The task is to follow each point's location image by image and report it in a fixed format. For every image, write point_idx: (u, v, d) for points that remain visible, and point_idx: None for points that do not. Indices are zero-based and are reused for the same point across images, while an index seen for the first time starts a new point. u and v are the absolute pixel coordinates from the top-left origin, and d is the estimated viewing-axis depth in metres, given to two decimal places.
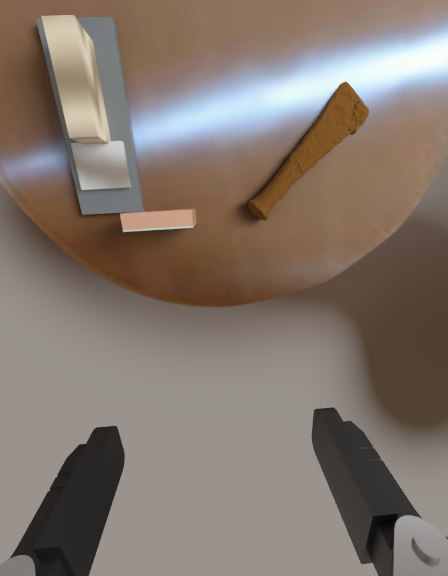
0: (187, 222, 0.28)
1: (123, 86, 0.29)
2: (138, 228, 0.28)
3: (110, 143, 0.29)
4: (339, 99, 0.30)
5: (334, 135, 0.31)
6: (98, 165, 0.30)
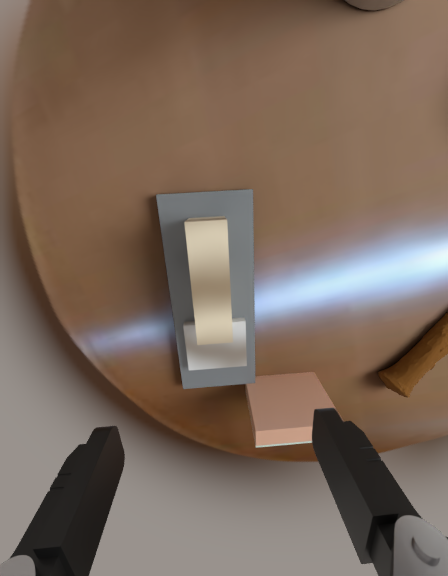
0: None
1: None
2: (275, 443, 0.22)
3: (231, 324, 0.24)
4: None
5: None
6: (213, 346, 0.24)
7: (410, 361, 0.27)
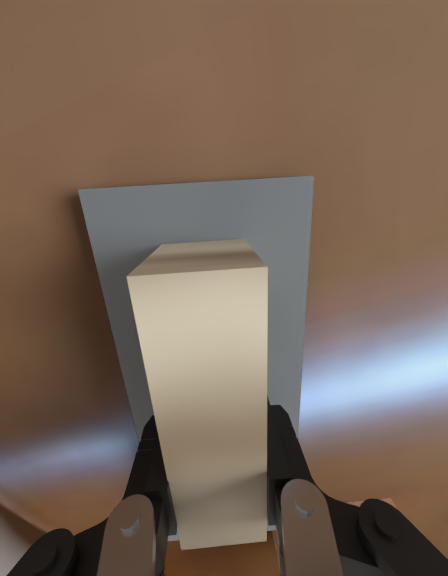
0: None
1: None
2: None
3: None
4: None
5: None
6: None
7: None
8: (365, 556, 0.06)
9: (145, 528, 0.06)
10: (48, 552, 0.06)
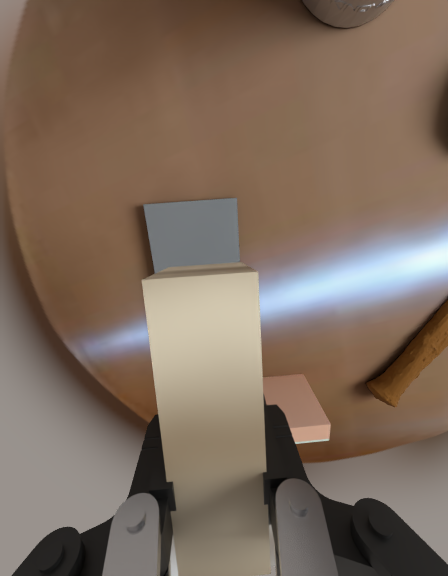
0: (323, 436, 0.23)
1: None
2: None
3: None
4: None
5: None
6: None
7: (395, 371, 0.28)
8: (359, 555, 0.06)
9: (151, 526, 0.06)
10: (55, 550, 0.06)
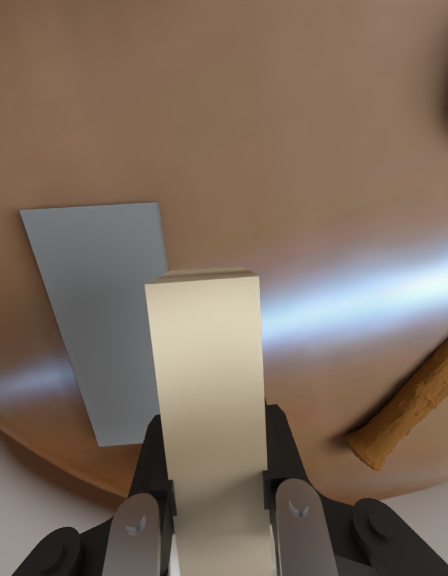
0: None
1: None
2: None
3: None
4: None
5: None
6: None
7: (380, 427, 0.22)
8: (359, 555, 0.06)
9: (151, 526, 0.06)
10: (55, 550, 0.06)
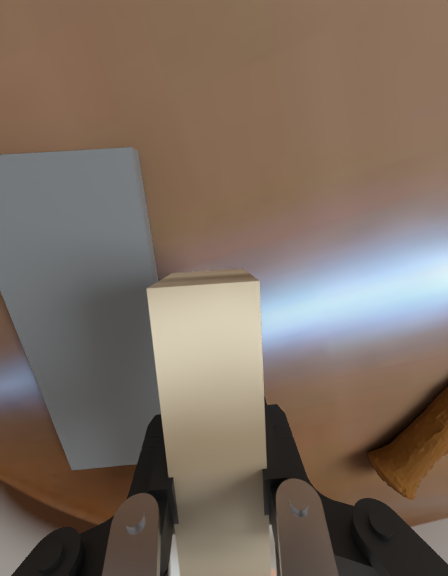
0: None
1: (154, 275, 0.13)
2: None
3: None
4: None
5: None
6: None
7: (412, 444, 0.18)
8: (359, 555, 0.06)
9: (150, 526, 0.06)
10: (54, 550, 0.06)
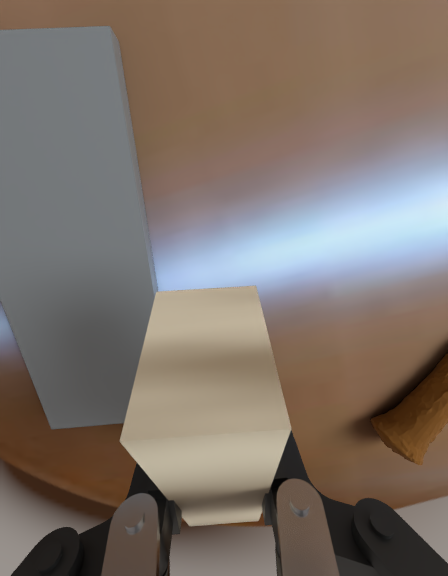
0: None
1: (138, 193, 0.12)
2: None
3: None
4: None
5: None
6: None
7: (420, 405, 0.17)
8: (360, 556, 0.06)
9: (150, 527, 0.06)
10: (53, 551, 0.06)
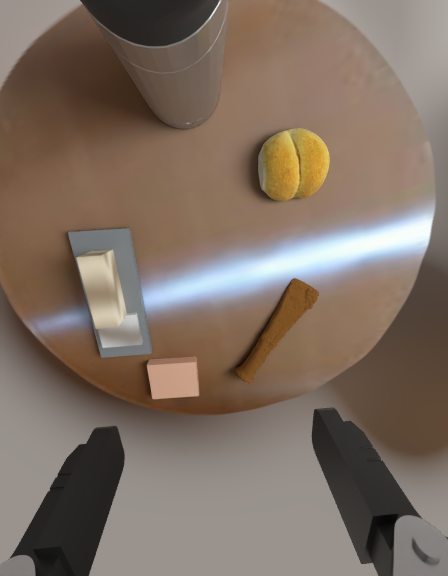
0: None
1: (136, 271, 0.35)
2: None
3: (126, 317, 0.37)
4: (292, 292, 0.38)
5: (294, 316, 0.39)
6: (116, 331, 0.37)
7: (248, 359, 0.41)
8: None
9: None
10: None
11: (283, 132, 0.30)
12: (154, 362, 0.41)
